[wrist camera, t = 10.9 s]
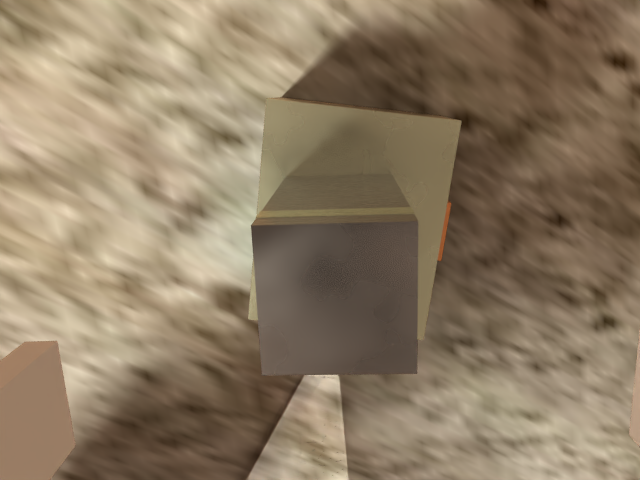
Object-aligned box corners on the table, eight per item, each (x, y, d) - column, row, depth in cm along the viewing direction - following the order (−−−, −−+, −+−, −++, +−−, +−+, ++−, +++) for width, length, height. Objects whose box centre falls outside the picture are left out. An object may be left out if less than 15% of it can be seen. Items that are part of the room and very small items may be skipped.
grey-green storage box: (416, 298, 34) (431, 341, 28) (264, 280, 34) (248, 319, 28) (447, 116, 31) (470, 121, 25) (280, 97, 31) (266, 98, 25)
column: (290, 276, 28) (261, 375, 18) (285, 176, 26) (250, 224, 17) (392, 274, 27) (417, 374, 18) (391, 173, 26) (418, 220, 16)
